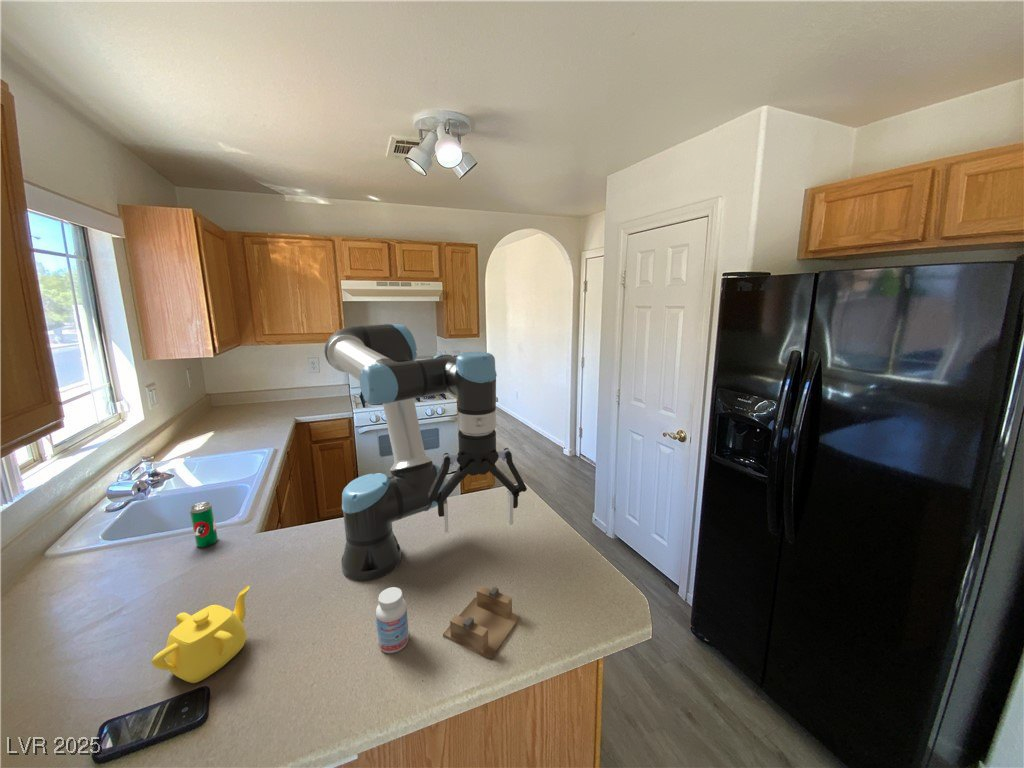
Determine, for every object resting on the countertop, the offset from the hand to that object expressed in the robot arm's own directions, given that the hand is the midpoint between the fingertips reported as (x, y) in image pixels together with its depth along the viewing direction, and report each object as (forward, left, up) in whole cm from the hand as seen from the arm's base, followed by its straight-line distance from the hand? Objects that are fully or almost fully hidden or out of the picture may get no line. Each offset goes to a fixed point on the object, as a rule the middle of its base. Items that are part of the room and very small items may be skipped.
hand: (478, 525), depth 86 cm
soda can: (-85, -16, -23) cm, 89 cm away
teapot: (-41, -35, -23) cm, 58 cm away
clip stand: (+2, -3, -22) cm, 23 cm away
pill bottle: (-12, -15, -23) cm, 29 cm away
